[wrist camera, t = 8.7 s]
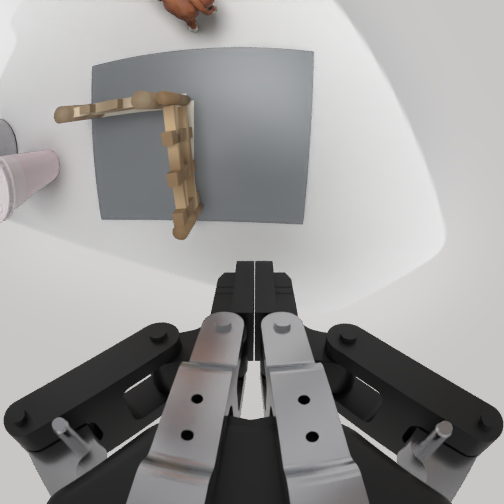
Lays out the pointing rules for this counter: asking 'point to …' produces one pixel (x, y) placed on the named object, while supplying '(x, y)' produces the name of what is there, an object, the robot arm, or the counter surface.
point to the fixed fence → (107, 107)
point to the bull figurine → (189, 10)
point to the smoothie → (24, 177)
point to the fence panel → (180, 162)
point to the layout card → (208, 134)
